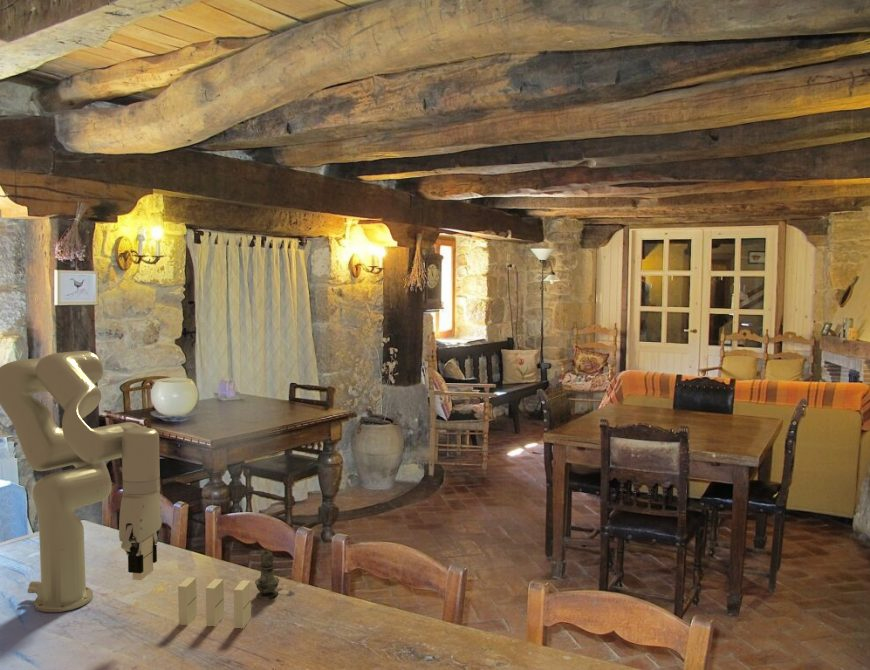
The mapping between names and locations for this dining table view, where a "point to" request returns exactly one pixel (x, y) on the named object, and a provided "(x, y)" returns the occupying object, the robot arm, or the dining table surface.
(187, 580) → the domino
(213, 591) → the domino
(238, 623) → the domino
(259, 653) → the dining table surface
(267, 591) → the dark chess piece
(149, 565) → the domino
